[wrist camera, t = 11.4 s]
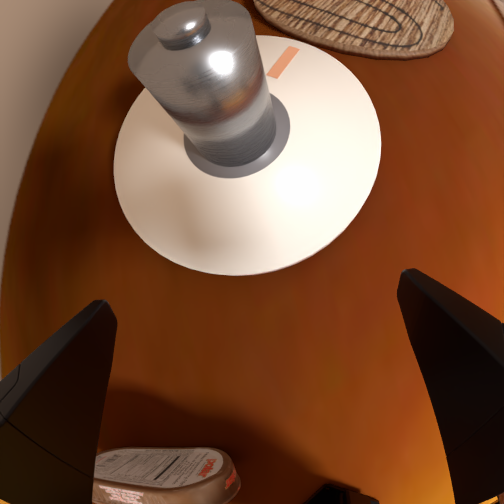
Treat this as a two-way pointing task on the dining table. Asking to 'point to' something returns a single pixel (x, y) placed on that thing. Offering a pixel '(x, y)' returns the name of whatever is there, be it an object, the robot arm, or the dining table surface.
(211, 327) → the dining table surface
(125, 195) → the turntable
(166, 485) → the tin
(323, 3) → the trivet
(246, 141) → the grey metal cylinder
